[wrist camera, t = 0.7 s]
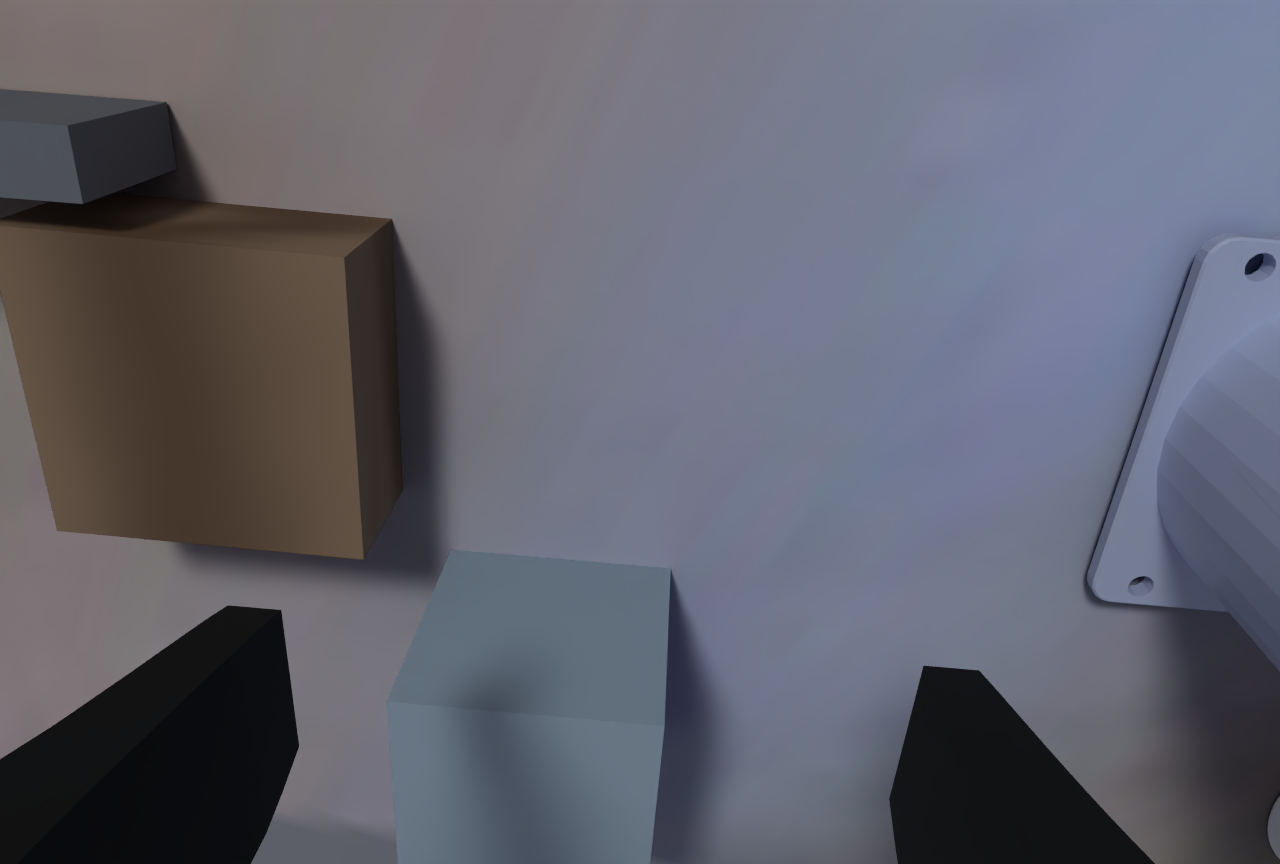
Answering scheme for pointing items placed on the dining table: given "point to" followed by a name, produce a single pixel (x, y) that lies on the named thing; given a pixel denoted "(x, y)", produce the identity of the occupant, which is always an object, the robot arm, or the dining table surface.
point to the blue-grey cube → (531, 714)
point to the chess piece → (1274, 828)
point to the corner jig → (80, 145)
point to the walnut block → (209, 370)
